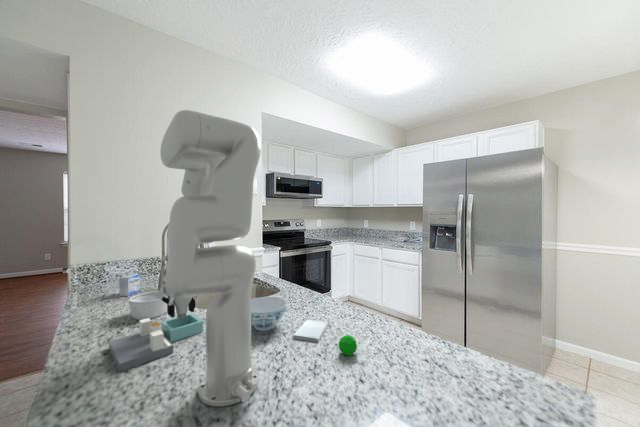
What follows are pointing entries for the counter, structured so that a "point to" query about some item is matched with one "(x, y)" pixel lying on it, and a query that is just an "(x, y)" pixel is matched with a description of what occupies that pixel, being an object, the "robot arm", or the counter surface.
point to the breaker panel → (139, 347)
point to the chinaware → (266, 312)
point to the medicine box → (129, 285)
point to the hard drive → (311, 330)
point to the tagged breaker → (154, 327)
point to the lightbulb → (181, 306)
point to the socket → (181, 327)
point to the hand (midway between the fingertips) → (181, 313)
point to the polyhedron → (347, 345)
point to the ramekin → (147, 306)
